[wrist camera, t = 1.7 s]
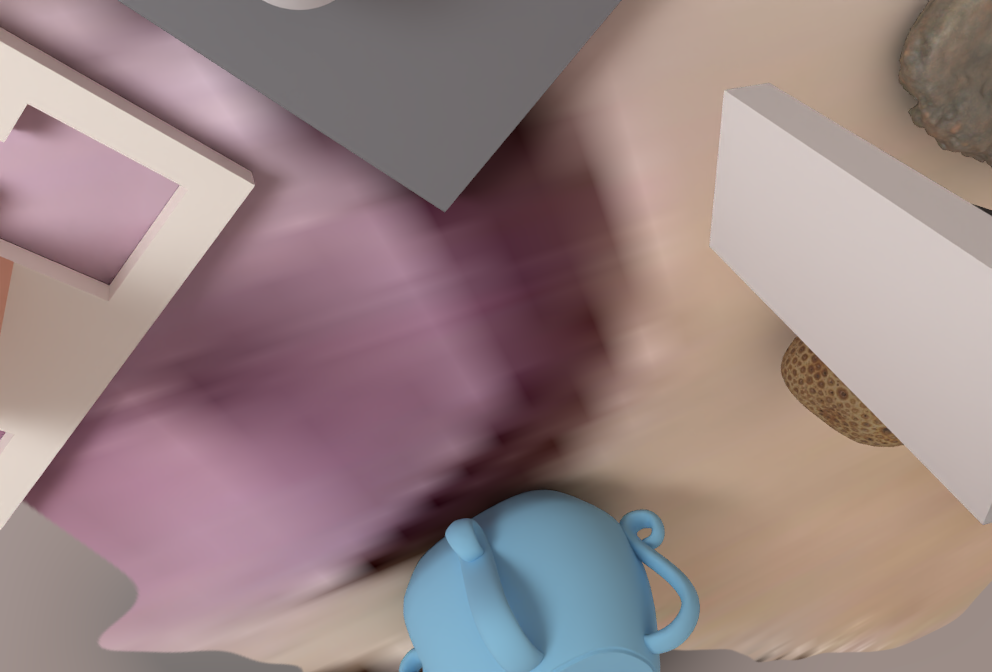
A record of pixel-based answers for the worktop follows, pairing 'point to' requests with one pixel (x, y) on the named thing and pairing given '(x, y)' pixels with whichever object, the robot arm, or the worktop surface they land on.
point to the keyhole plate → (79, 298)
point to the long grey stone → (952, 75)
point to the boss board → (394, 70)
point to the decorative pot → (543, 592)
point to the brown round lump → (831, 398)
